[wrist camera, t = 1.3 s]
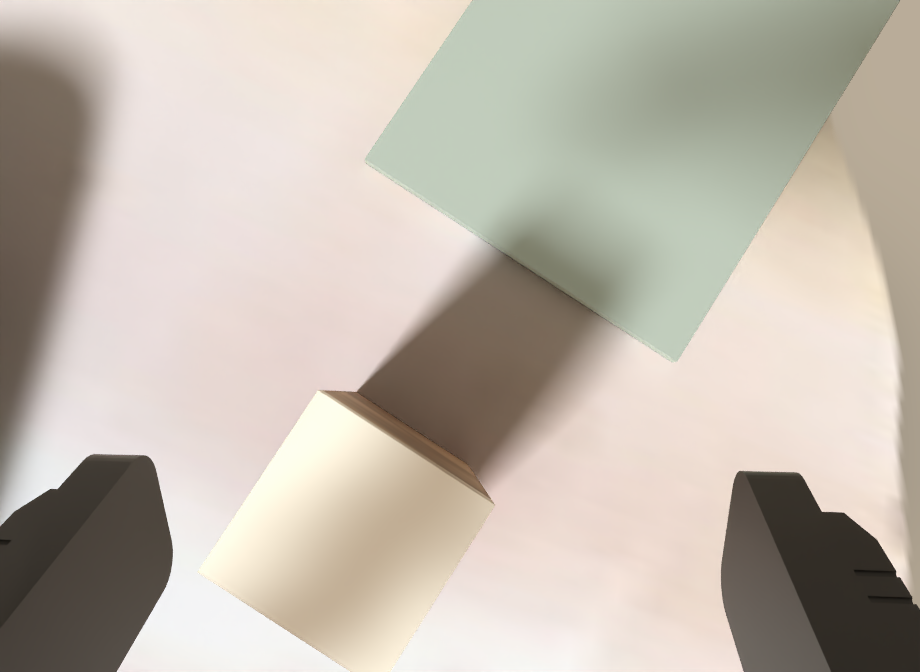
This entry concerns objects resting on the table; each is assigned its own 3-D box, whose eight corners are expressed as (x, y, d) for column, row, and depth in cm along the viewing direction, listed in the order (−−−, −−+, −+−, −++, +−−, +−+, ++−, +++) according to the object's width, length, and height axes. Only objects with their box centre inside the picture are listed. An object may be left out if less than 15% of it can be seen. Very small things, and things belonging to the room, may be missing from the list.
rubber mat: (366, 163, 30) (364, 158, 30) (638, -239, 32) (642, -251, 31) (672, 362, 30) (677, 361, 30) (927, -51, 32) (936, -59, 31)
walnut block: (281, 505, 29) (197, 572, 18) (356, 391, 30) (318, 390, 19) (394, 579, 29) (378, 689, 18) (467, 464, 30) (495, 504, 19)
